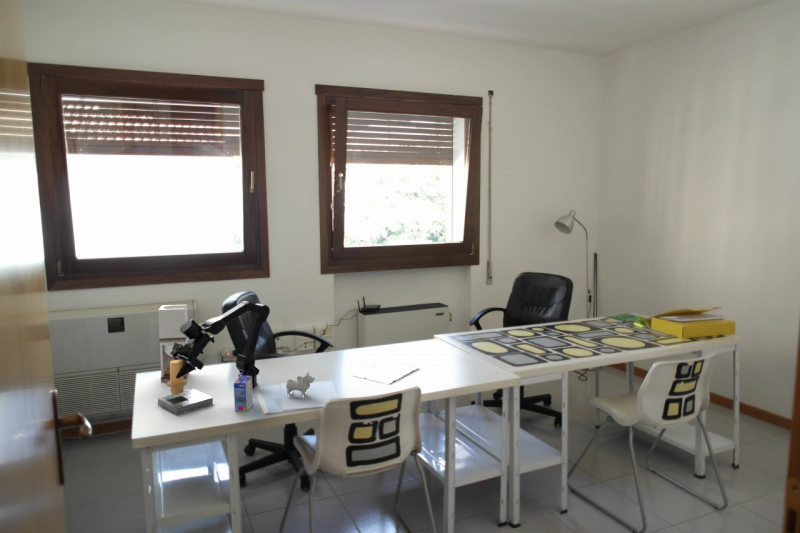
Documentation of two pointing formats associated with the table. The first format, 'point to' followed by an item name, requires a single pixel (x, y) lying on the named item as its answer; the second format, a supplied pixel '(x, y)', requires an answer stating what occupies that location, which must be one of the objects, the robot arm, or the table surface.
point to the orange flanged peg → (175, 383)
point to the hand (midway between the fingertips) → (173, 376)
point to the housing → (185, 401)
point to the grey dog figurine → (300, 383)
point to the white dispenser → (171, 335)
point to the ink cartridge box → (243, 393)
